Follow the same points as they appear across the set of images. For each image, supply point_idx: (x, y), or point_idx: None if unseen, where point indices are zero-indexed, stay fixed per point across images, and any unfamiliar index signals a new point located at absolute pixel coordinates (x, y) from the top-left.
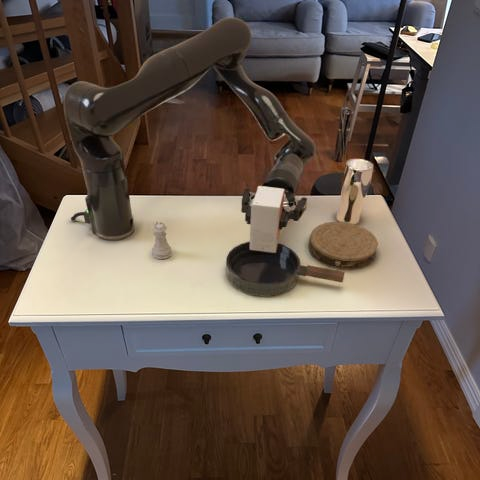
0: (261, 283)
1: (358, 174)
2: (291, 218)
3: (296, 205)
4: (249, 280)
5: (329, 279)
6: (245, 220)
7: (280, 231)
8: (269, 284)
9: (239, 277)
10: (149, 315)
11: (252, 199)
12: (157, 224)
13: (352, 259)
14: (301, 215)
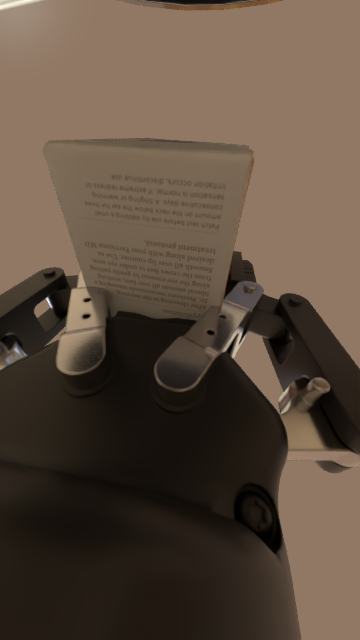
0: (232, 6)
1: None
2: (267, 299)
3: (272, 363)
4: (179, 5)
5: None
6: None
7: (248, 182)
8: (267, 2)
9: (133, 3)
10: (12, 3)
11: (14, 352)
12: None
13: None
14: (334, 339)
